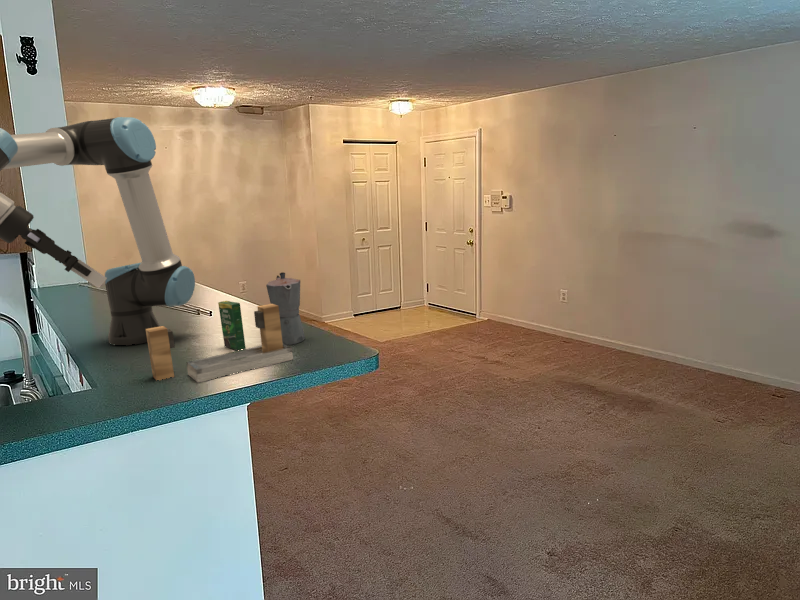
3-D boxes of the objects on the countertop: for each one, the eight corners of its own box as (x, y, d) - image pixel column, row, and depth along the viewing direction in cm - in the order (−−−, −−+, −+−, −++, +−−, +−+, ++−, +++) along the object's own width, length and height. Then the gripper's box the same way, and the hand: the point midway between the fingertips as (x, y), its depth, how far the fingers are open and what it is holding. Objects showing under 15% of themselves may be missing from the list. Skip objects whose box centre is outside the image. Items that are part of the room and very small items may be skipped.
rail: (188, 374, 141) (186, 362, 140) (280, 353, 154) (278, 341, 154) (197, 382, 135) (196, 369, 134) (293, 359, 148) (291, 347, 147)
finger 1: (152, 376, 141) (145, 329, 139) (175, 371, 144) (168, 324, 142) (156, 380, 138) (149, 332, 136) (179, 375, 141) (172, 327, 138)
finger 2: (258, 353, 149) (252, 307, 146) (277, 348, 152) (272, 303, 149) (264, 356, 145) (258, 309, 143) (283, 351, 148) (278, 305, 146)
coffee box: (223, 346, 165) (217, 301, 162) (232, 344, 166) (226, 299, 164) (236, 351, 159) (230, 304, 156) (246, 349, 161) (240, 302, 158)
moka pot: (279, 350, 158) (271, 277, 154) (264, 338, 171) (257, 271, 167) (313, 343, 162) (306, 272, 158) (296, 332, 175) (289, 266, 171)
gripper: (-11, 230, 127) (78, 287, 139) (-9, 234, 107) (95, 300, 119) (13, 204, 129) (99, 262, 141) (20, 203, 109) (119, 271, 120)
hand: (97, 280), depth 130 cm, fingers open, 13 cm apart
